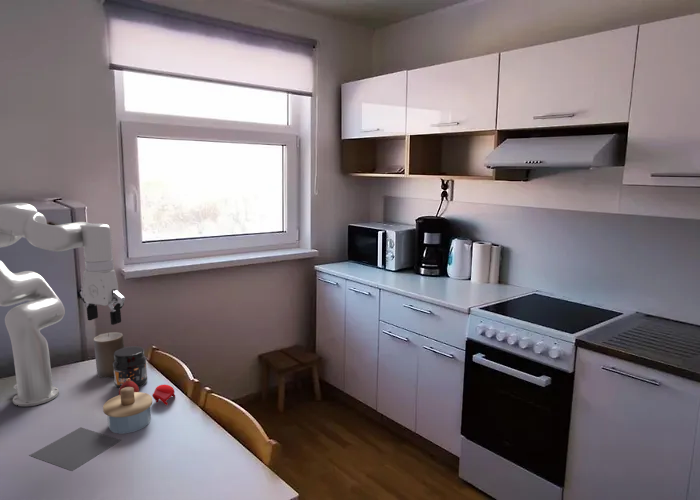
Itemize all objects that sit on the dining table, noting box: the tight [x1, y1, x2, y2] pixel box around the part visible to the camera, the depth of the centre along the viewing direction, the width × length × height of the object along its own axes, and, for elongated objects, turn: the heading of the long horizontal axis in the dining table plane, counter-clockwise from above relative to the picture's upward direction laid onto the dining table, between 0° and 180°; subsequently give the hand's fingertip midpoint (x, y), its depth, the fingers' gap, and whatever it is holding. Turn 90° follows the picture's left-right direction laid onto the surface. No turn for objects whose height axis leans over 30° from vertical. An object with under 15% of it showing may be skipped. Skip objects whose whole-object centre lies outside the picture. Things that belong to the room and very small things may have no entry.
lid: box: [102, 387, 153, 417], centre depth 143 cm, size 13×13×5 cm
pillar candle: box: [93, 331, 125, 379], centre depth 178 cm, size 10×10×15 cm
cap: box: [151, 384, 176, 406], centre depth 158 cm, size 8×6×6 cm
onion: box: [118, 378, 140, 395], centre depth 157 cm, size 6×6×8 cm
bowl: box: [107, 406, 152, 434], centre depth 144 cm, size 11×11×6 cm
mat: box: [29, 427, 122, 472], centre depth 132 cm, size 16×15×1 cm
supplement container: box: [113, 345, 148, 390], centre depth 169 cm, size 10×10×12 cm
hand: (104, 321), depth 149 cm, fingers open, 9 cm apart
